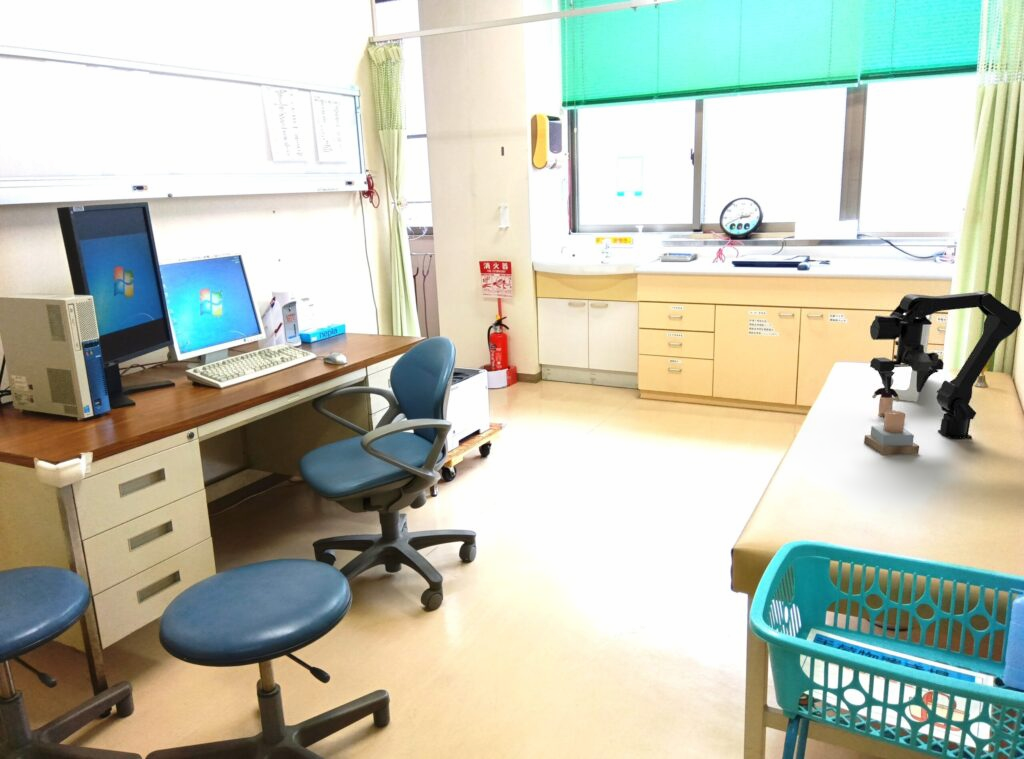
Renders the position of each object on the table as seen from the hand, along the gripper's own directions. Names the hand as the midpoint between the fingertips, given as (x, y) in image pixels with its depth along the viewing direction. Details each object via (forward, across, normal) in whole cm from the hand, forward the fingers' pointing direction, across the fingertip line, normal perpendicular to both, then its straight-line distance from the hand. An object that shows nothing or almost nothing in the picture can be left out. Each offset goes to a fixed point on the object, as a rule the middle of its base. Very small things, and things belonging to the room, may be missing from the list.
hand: (903, 392), depth 218 cm
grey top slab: (+11, -8, -10) cm, 17 cm away
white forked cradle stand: (+13, +32, +47) cm, 59 cm away
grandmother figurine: (+13, +6, +18) cm, 23 cm away
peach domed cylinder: (+8, -8, -10) cm, 15 cm away
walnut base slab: (+14, -8, -10) cm, 19 cm away
